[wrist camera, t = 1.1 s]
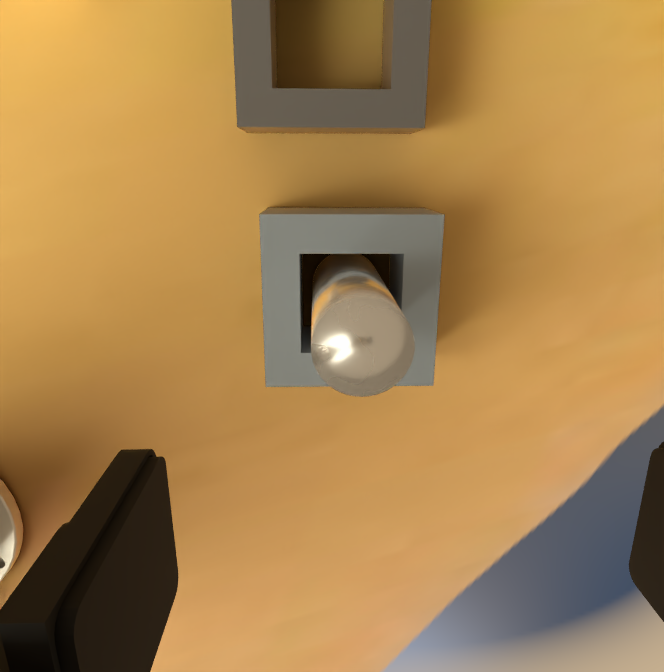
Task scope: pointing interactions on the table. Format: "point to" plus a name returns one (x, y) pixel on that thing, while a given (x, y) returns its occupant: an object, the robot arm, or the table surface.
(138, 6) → the table surface
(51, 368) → the table surface
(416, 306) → the socket block
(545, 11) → the table surface
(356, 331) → the steel rod
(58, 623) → the robot arm
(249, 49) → the grey square ring
